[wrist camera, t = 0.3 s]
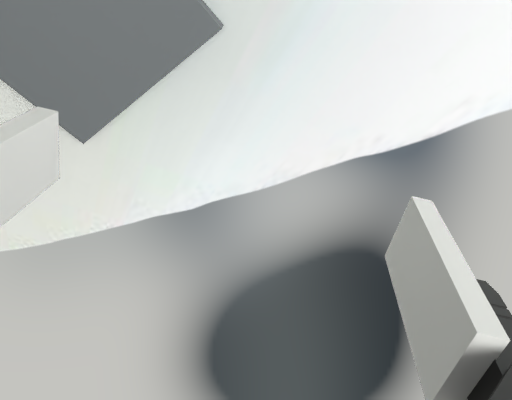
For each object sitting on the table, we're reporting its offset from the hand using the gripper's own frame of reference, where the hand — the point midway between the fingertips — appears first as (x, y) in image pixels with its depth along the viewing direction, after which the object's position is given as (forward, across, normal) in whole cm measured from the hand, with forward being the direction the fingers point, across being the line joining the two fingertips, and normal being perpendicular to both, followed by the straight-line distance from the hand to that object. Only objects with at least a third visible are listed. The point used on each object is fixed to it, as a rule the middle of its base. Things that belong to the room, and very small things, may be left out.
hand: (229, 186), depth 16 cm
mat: (+29, -21, -1) cm, 35 cm away
